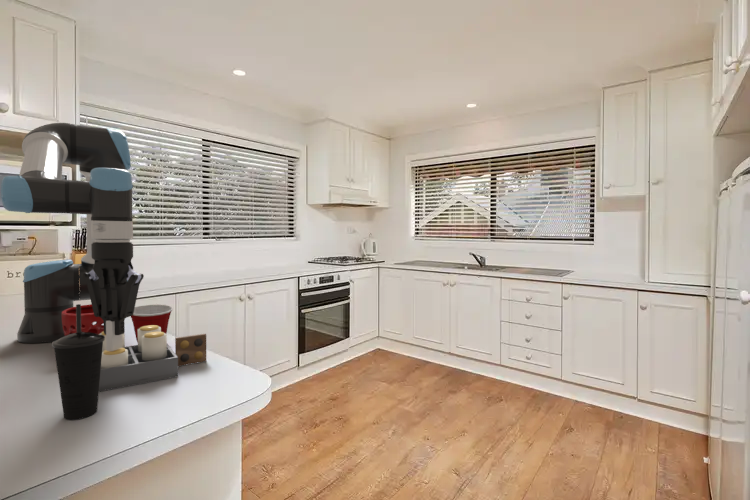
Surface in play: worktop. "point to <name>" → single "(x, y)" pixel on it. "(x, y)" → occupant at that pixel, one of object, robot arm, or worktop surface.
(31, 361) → the worktop surface
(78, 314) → the drinking cup
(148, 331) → the button
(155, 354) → the button
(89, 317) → the plant pot
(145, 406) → the worktop surface
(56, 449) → the worktop surface
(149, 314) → the plastic cup
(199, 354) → the placard
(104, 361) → the button
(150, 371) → the button board
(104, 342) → the button
